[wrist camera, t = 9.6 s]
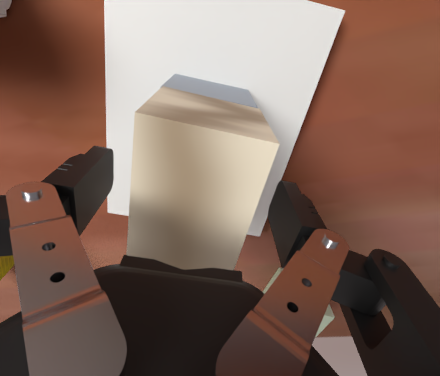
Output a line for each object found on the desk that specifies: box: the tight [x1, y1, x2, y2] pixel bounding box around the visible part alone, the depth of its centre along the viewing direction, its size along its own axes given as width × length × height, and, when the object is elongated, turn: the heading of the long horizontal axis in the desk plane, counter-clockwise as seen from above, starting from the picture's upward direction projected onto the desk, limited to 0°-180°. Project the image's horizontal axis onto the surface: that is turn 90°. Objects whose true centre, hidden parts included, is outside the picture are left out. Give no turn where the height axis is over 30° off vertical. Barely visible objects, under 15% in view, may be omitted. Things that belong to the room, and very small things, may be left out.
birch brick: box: [127, 86, 280, 270], centre depth 13 cm, size 5×7×5 cm
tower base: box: [104, 0, 345, 236], centre depth 18 cm, size 14×18×6 cm
